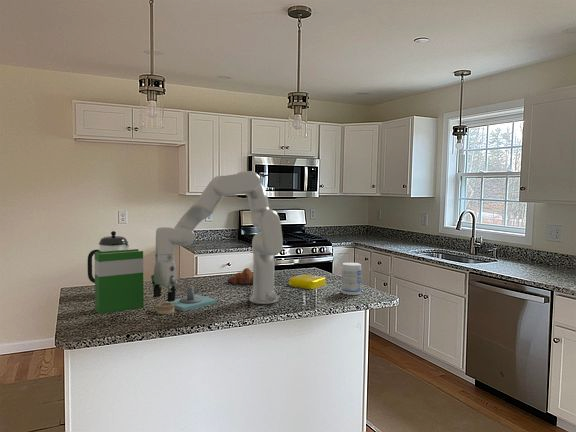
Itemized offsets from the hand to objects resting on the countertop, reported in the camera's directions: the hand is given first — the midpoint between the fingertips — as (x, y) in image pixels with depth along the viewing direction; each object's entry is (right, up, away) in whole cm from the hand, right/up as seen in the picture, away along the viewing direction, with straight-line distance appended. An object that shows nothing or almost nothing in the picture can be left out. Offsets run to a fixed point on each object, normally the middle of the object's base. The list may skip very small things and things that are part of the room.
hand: (164, 299), depth 182 cm
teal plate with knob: (+8, -5, +12) cm, 15 cm away
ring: (0, -5, +1) cm, 5 cm away
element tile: (+61, -3, +54) cm, 82 cm away
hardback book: (-20, -5, +4) cm, 21 cm away
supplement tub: (+82, -4, +37) cm, 90 cm away
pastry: (+29, -2, +58) cm, 65 cm away
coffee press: (-33, -3, +28) cm, 43 cm away
